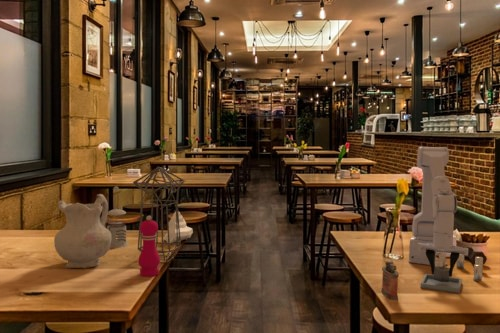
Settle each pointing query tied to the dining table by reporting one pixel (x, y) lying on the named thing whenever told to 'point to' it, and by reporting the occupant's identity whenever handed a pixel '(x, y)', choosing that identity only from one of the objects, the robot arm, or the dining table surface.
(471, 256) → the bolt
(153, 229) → the pepper mill
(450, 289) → the tray
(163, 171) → the geometric lantern
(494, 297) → the dining table surface
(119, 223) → the french press
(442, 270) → the nut
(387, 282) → the lighter
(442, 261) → the spacer field
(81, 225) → the ceramic pitcher
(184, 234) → the soft serve ice cream
